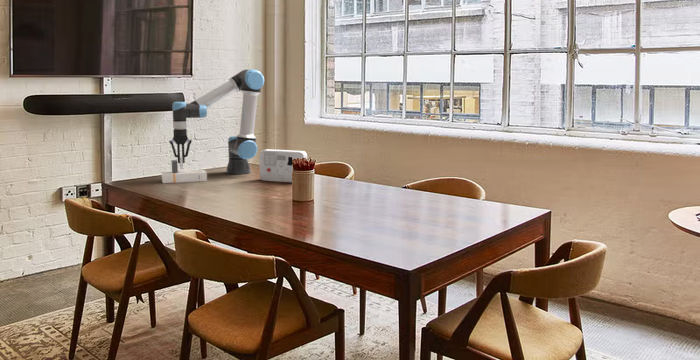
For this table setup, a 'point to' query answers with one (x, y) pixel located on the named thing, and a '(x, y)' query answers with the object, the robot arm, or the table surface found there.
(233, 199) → the table surface
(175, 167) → the fader
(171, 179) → the console
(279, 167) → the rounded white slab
